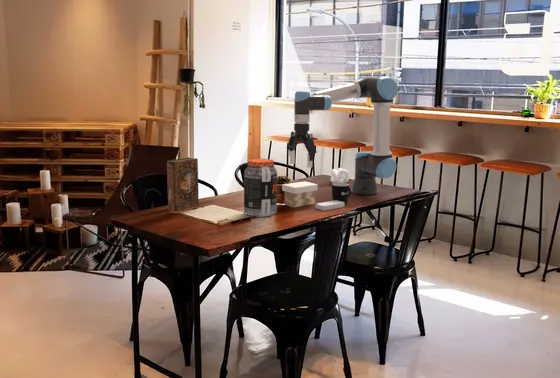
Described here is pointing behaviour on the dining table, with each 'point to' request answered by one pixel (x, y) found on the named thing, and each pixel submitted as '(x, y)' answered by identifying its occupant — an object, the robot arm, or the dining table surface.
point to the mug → (340, 192)
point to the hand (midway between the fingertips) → (300, 165)
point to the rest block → (329, 205)
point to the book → (182, 183)
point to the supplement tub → (260, 188)
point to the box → (299, 199)
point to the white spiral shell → (339, 175)
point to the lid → (299, 187)
